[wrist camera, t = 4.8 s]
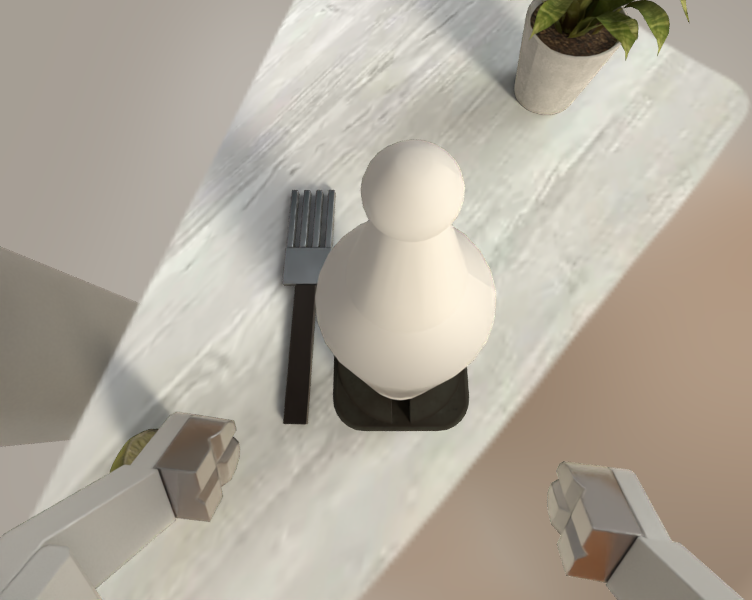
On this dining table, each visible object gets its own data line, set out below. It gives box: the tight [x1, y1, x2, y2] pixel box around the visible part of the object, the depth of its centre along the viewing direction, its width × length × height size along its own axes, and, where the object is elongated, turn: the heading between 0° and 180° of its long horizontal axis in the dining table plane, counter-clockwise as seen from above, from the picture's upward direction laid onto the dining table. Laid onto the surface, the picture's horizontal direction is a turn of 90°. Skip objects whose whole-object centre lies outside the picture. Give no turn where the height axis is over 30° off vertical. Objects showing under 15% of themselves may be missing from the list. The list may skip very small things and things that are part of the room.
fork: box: [282, 190, 336, 424], centre depth 29 cm, size 4×18×1 cm, turn 179°
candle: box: [315, 139, 496, 431], centre depth 15 cm, size 5×5×25 cm
